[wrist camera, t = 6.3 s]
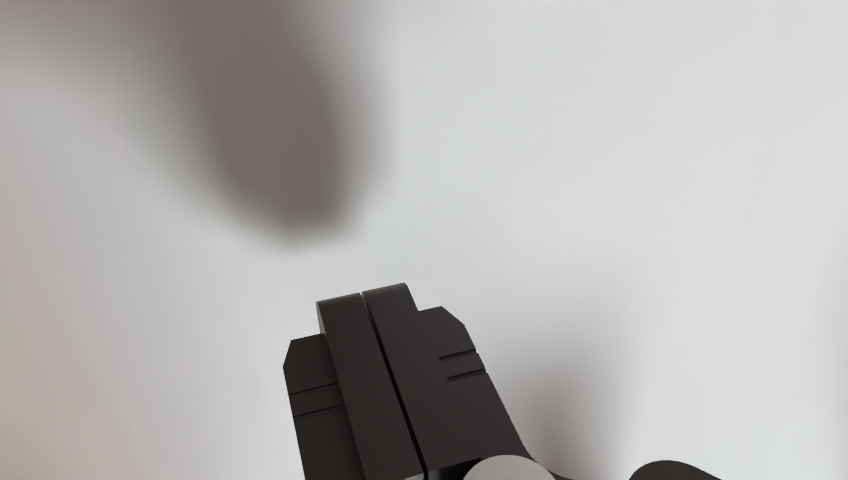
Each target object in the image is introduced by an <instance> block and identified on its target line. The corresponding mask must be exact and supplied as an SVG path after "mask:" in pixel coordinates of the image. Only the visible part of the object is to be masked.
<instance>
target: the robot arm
mask: <svg viewBox="0 0 848 480" xmlns="http://www.w3.org/2000/svg"><path fill="white" fill-rule="evenodd" d="M361 296H362V297H361ZM316 308H317V315H318V321H319V328H320V334H317V335H312V336H308V337H304V338H299V339H295V340H291V342H290V346H289V349H288V352H287V355H286V358H285V362H284V365H283V370H284V375H285V380H286V385H287V390H288V395H289V400H290V405H291V410H292V415H293V420H294V425H295V430H296V435H297V440H298V445H299V450H300V455H301V460H302V465H303V470H304V475H305V480H572V479H567V478H564V477H561V476H559V475H556V474H554V473H552V472H550V471H548V470H547V469H545V468H544V467H542V466H541V465H540V464H538V463H537V462H536V461H535V460H534V459H533V458H532V457H531V456H530V454H529V453H528V452H527V450H526V449H525V447H524V445H523V444H522V442H521V440H520V438H519V435H518V433H517V431H516V429H515V427H514V425H513V423H512V421H511V419H510V417H509V415H508V413H507V411H506V409H505V407H504V405H503V403H502V401H501V399H500V397H499V395H498V393H497V391H496V389H495V387H494V385H493V383H492V381H491V379H490V377H489V375H488V373H486V370H485V367H484V364H483V362H482V360H481V358H480V356H479V354H478V353H476V348H475V346H474V344H473V342H472V340H471V338H470V336H469V334H468V332H467V330H466V328H465V326H464V324H463V323H461V322H460V321H459V320H458V319H457V318H455V317H454V316H453V315H452V314H451V313H449V312H448V311H447V310H446V309H445V308H443V307H442V306H440V307H435V308H431V309H426V310H422V311H418V309H417V307H416V305H415V302H414V300H413V298H412V296H411V293H410V291H409V289H408V287H407V285H406V284H405V283H400V284H396V285H391V286H386V287H382V288H377V289H372V290H368V291H363V292H362V295H360V293H355V294H350V295H346V296H341V297H336V298H332V299H327V300H322V301H318V302H316ZM629 480H721V479H719V478H717V477H714V476H712V475H710V474H708V473H706V472H704V471H702V470H700V469H698V468H696V467H694V466H691V465H689V464H686V463H682V462H678V461H671V460H661V461H655V462H651V463H648V464H645V465H644V466H642V467H640V468H639V469H638V470H637V471H635V472H634V473H633V475H632V476H631V478H630V479H629Z"/></svg>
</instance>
